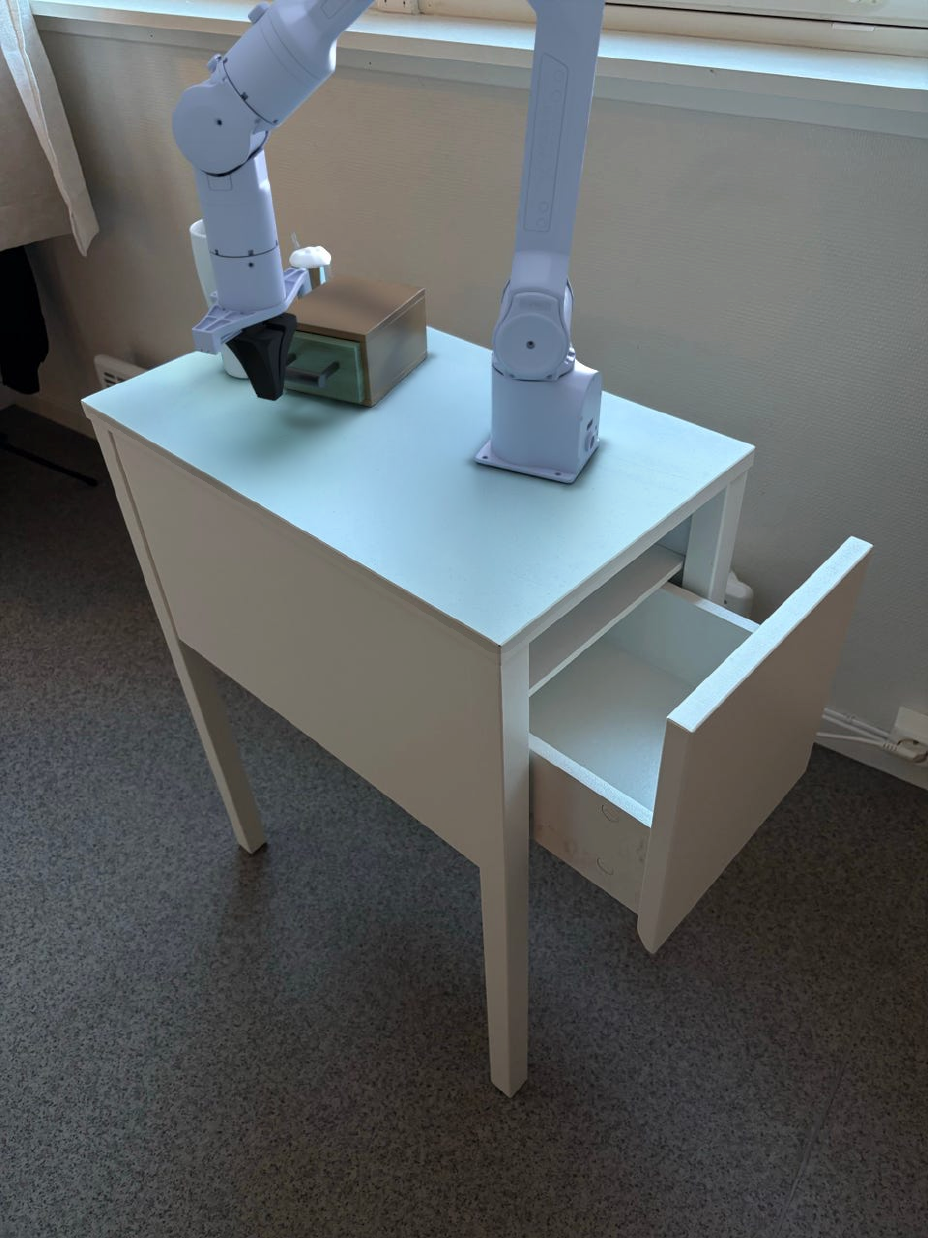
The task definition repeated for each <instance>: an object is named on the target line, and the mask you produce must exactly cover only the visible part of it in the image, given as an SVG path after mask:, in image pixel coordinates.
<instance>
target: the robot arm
mask: <svg viewBox="0 0 928 1238" xmlns="http://www.w3.org/2000/svg"><path fill="white" fill-rule="evenodd" d="M377 1H378V0H274V1H273V2H272V3H271V4H270V5H269V4H268V2H267V1H264V0H263V1H260V2H259V3H257V4H256V5H255V6H254V7H253V8H252V9H251V11H249V13H248V14H247V18H248V20H249V21H250V22H251V25H250V27H249V28H248V29H247V30H246V31H245V33H243V35H242V36H241V37H240V38H239V39H238V40H237V41H236V42H235V43H234V45H233V46H232V47H231V48H230V49H229V50H228V51H227V52H226V53H225V54H224V55H223V56H222V55H221V54H220V53H216V54H215V55H214V56H212V57H211V58H210V60H209V61H208V62H207V63H206V68H207V70H208V72H210V75H209V78H208V79H206V80H204V81H203V82H201V83H199V84H195V85H192V86H190V87H188V88H186V89H184V90H183V91H182V92H181V97H180V99H179V100H178V102H177V103H176V105H175V107H174V110H173V112H172V118H171V127H172V128H171V129H172V134H173V138H174V141H175V143H176V145H177V147H178V149H179V151H180V152H181V154H182V156H183V157H184V158H185V159H186V160H187V161H188V162H189V163H190V165H191V166H192V172H193V176H194V181H195V186H196V193H197V199H198V203H199V208H200V213H201V218H202V219H203V224H204V229H205V234H206V239H207V244H208V249H209V254H210V259H211V263H212V268H213V273H214V278H215V283H216V288H217V291H215V292H213V293H212V294H211V295H210V298H211V302H212V303H214V305H213V306H212V307H211V309H210V310H208V311H207V313H206V314H205V315H204V317H203V318H202V320H201V321H199V323H197V325H195V326H194V327H192V328H191V335H192V339H193V345H194V348H195V351H196V352H199V353H203V354H209V355H214V356H217V355H218V354H219V353H221V351H222V347H221V345H223V344H224V343H225V344H226V345H227V346H228V347H229V349H230V350H231V351H232V352H233V354H234V355H235V356H236V358H237V359H238V361H239V362H240V364H241V365H242V367H243V369H244V371H245V372H246V374H247V376H248V378H247V379H248V380H249V383H250V385H251V387H252V389H253V391H254V393H255V395H256V397H257V399H261V400H262V399H263V400H267V401H270V402H271V401H272V402H276V401H277V400H278V399H280V398H281V397H282V396H284V391H285V390H284V389H285V388H284V380H285V370H286V362H287V356H288V351H289V348H290V344H291V341H292V338H293V335H294V333H295V330H296V328H297V326H298V324H297V317H296V316H295V315H294V314H291V313H285V312H284V311H286V310H287V309H288V307H289V306H290V305H291V304H292V302H293V300H295V299H294V298H295V297H298V296H297V295H298V294H300V295H306V294H307V293H309V292H310V291H311V290H310V282H309V274H308V271H307V270H301V269H294V268H291V267H289V268H287V269H285V270H283V264H282V263H283V262H282V255H281V249H280V248H281V247H280V242H279V238H278V237H279V236H278V230H277V224H276V216H275V210H274V204H273V197H272V196H273V195H272V190H271V183H270V180H269V176H268V169H267V168H268V167H267V162H266V155H265V149H264V146H265V144H266V143H267V141H268V139H269V138H270V135H271V131H273V130H274V131H275V130H277V129H278V128H280V126H281V125H282V124H283V123H284V122H285V121H286V120H288V118H289V117H290V116H291V115H293V113H295V111H296V110H297V109H299V107H300V106H302V104H303V103H304V102H306V100H308V98H309V97H310V96H311V95H313V94H314V93H315V91H316V90H317V89H318V88H319V87H320V86H321V85H323V83H324V82H325V81H327V79H328V78H330V77H331V76H332V75H333V74H334V73H335V71H336V67H337V44H338V39H339V38H340V36H341V35H343V33H344V32H345V31H346V30H348V29H349V28H350V27H351V26H352V25H353V24H354V23H355V22H356V21H357V20H358V19H360V17H361V16H362V15H363V14H365V12H367V11H368V9H370V8H371V7H372V6H373V5H374V4H375V3H376V2H377ZM525 1H526V2H527V3H528V5H529V6H530V7H531V9H532V10H533V11H534V13H535V15H536V25H535V34H534V47H533V53H532V54H533V55H532V56H533V57H532V63H531V64H532V65H531V75H530V86H529V95H528V96H529V97H528V105H527V115H526V126H525V137H524V146H523V156H522V157H523V158H522V168H521V176H520V177H521V178H520V186H519V187H520V188H519V197H518V209H517V216H516V217H517V218H516V226H515V227H516V228H515V240H514V249H513V257H512V263H511V272H510V277H509V278H508V279H507V281H506V283H505V285H504V286H503V289H502V293H501V294H502V295H501V302H500V303H501V306H500V311H499V314H498V319H497V322H496V323H495V326H493V327H494V328H493V331H492V335H491V336H492V337H491V346H492V352H491V382H490V383H491V385H490V386H491V389H490V390H491V397H490V398H491V401H490V403H491V405H490V407H491V411H490V412H491V413H490V415H491V417H490V418H491V421H490V422H491V423H490V424H491V427H490V428H491V429H490V431H491V433H490V434H491V435H490V438H489V439H488V441H486V442H485V444H483V446H482V447H481V448H480V449H479V451H478V452H477V453H476V454H475V456H474V462H476V463H479V464H483V465H486V466H487V465H488V466H492V467H496V468H500V469H505V470H508V471H513V472H517V473H522V474H526V475H531V476H536V477H540V478H543V479H544V478H545V479H548V480H554V481H558V482H562V483H565V484H566V483H567V484H571V483H573V482H574V481H575V480H576V478H577V477H578V475H579V474H580V472H582V470H583V468H584V466H586V464H587V462H588V461H589V459H590V458H591V456H592V455H593V453H594V452H595V450H596V449H597V448H598V446H599V444H600V443H601V439H600V438H599V431H600V429H599V428H600V416H601V407H602V396H603V395H602V394H603V376H602V373H601V371H599V370H596V369H593V368H590V367H588V366H585V365H584V364H583V363H581V362H580V361H578V360H577V359H576V351H575V349H574V348H573V347H572V348H571V345H570V342H571V325H572V324H571V323H572V313H573V311H574V306H575V296H574V291H573V290H574V289H573V288H572V284H571V282H570V279H569V267H570V258H571V251H572V244H573V238H574V237H573V236H574V230H575V223H576V215H577V208H578V202H579V193H580V186H581V179H582V171H583V165H584V159H585V151H586V143H587V138H588V137H587V135H588V129H589V122H590V115H591V108H592V100H593V93H594V86H595V78H596V72H597V65H598V56H599V51H600V44H601V43H600V42H601V37H602V35H601V34H602V28H603V21H604V15H605V14H604V13H605V6H606V0H525ZM202 219H201V220H202Z"/></svg>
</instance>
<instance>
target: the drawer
mask: <svg viewBox="0 0 928 1238" xmlns="http://www.w3.org/2000/svg"><path fill="white" fill-rule="evenodd" d="M359 342H360V341H355V342H352V341H347V340H341V339H336V338H331V337H325V336H320V335H315V334H312V332H307V331H302V330H295V333H294V335H293V338H292V341H291V344H290V348H289V351H288V356H287V362H286V370H285V380H284V387H286V388H291V389H296V390H300V391H305V392H310V393H314V394H319V395H324V396H328V397H333V398H338V399H342V400H347V401H352V402H356V403H361V402H362V401H363V400H364V399H365V398H366V395H365V385H364V374H363V364H362V354H361V344H360V343H359Z"/></svg>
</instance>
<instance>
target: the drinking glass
mask: <svg viewBox="0 0 928 1238" xmlns="http://www.w3.org/2000/svg"><path fill="white" fill-rule="evenodd" d="M188 230H189V231H188V232H189V237H190V243H191V249H192V254H193V259H194V264H195V269H196V272H197V277H198V280H199V283H200V287H201V291H202V293H203V297H204V301H205V303H206V307H207V310H208V311H209V310H210V309H211V307H212V306H213V305H214V303H212V302H211V298H210V295H211V294H212V293H213V292H215V291H217V288H216V283H215V278H214V273H213V268H212V263H211V259H210V254H209V249H208V244H207V239H206V234H205V229H204V224H203V219H199V220H197V221H195V222H194V223H192V224H191V225H190V226H189V229H188ZM221 347H222V351H221V352H220V356H221V360H222V365H223V369H224V371H225V372H226V373H227V374H228V375H229V376H231V377H234V378H237V379H249V378H248V376H247V374H246V372H245V371H244V369H243V367H242V365H241V364H240V362H239V361H238V359H237V358H236V356H235V355H234V354H233V352H232V351H231V350H230V349H229V347H228V346H227V345H226V344H225V343H224V344H223V345H221Z"/></svg>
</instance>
